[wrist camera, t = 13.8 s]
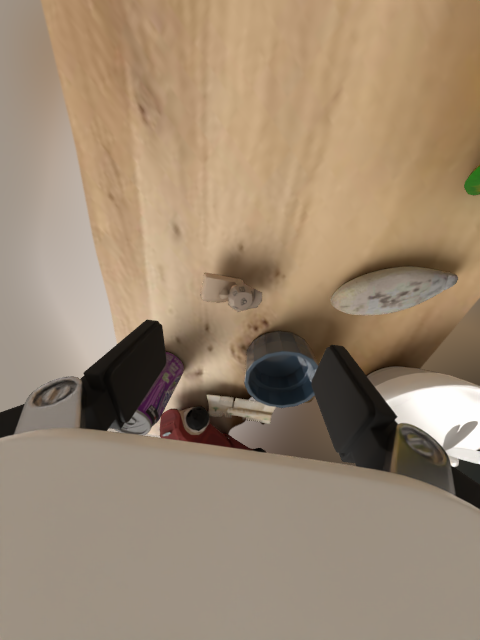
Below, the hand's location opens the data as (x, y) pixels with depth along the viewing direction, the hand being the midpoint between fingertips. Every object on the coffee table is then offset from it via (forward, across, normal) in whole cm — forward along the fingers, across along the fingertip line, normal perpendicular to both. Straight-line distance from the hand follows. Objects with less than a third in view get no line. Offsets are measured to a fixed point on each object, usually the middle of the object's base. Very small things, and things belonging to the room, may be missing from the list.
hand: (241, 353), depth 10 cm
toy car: (+16, +3, +38) cm, 41 cm away
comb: (+14, -2, +23) cm, 27 cm away
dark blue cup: (+17, -7, +14) cm, 23 cm away
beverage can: (+17, +14, +19) cm, 29 cm away
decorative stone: (+18, -19, -1) cm, 26 cm away
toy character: (+18, +2, +2) cm, 18 cm away
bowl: (+17, -29, +18) cm, 38 cm away
